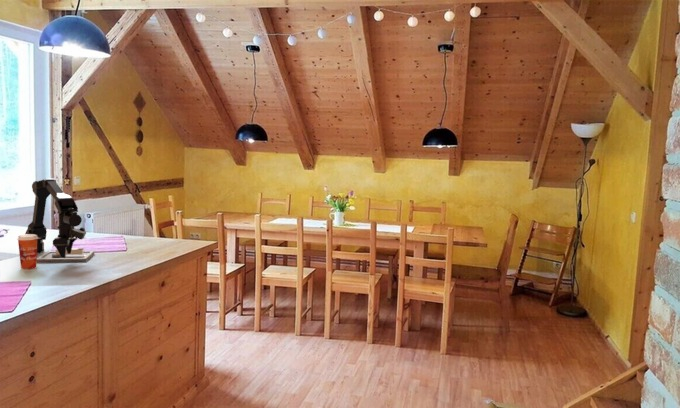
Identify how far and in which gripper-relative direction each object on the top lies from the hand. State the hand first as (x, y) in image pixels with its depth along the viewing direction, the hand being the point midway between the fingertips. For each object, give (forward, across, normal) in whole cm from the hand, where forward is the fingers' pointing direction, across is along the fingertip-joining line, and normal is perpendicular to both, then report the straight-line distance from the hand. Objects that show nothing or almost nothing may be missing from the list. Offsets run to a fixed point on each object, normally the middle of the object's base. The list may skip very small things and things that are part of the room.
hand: (66, 255), depth 241 cm
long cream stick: (+3, +11, +2) cm, 11 cm away
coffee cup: (+4, -5, +14) cm, 16 cm away
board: (+4, +12, +4) cm, 13 cm away
